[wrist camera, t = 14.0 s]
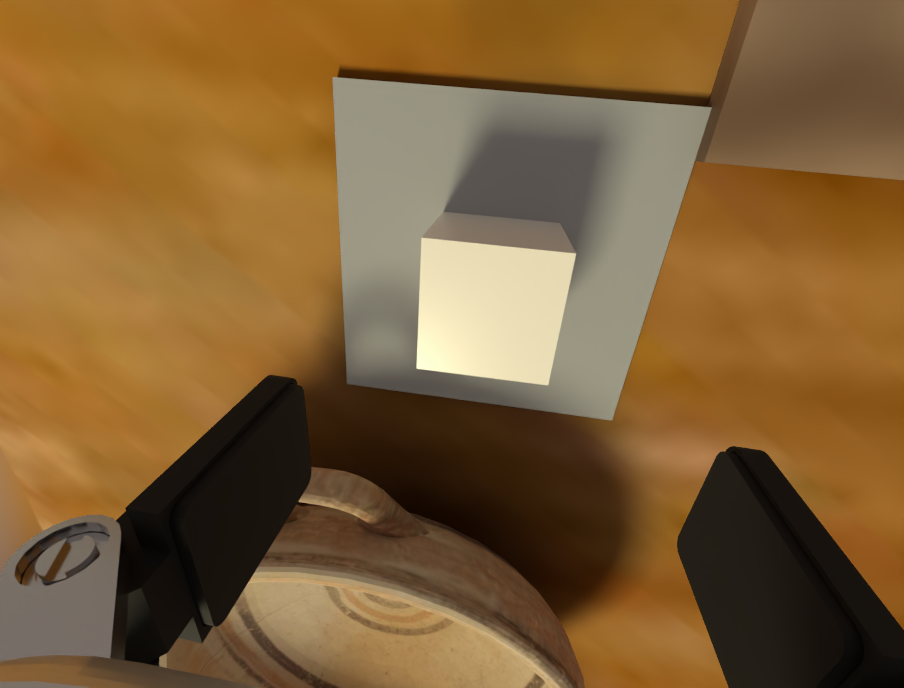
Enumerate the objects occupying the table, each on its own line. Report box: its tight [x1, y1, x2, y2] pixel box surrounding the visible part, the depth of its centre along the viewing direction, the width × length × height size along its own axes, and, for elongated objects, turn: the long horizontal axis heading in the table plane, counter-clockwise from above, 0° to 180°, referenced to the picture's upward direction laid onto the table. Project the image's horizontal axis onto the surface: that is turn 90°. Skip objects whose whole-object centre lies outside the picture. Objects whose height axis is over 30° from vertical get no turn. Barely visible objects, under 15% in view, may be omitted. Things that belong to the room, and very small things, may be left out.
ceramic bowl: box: [167, 467, 584, 688], centre depth 30 cm, size 37×29×10 cm
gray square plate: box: [333, 77, 712, 420], centre depth 22 cm, size 16×16×1 cm
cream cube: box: [416, 212, 576, 385], centre depth 19 cm, size 6×6×6 cm
